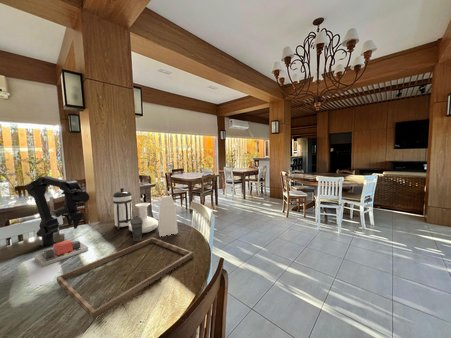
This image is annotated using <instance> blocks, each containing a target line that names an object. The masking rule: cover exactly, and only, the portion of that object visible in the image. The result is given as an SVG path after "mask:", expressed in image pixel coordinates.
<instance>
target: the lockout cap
mask: <svg viewBox="0 0 451 338" xmlns="http://www.w3.org/2000/svg"><path fill="white" fill-rule="evenodd" d="M72 242H73V241H71V240H68V239H66V240H64V241H60V242H57V243H54V244H52V250H54V253H55V254H57V255H60V254H63V253H66V252H69V251H72V250H73V245H72Z"/></svg>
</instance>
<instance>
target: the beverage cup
mask: <svg viewBox="0 0 451 338" xmlns="http://www.w3.org/2000/svg"><path fill="white" fill-rule="evenodd" d="M136 214H137V213H136V209H134V217H133V216H132V220H131V226H132V231H131V232H132V238H133V239H132V240H133V241H134V242H139V241H141V240H142V235H143V233H142V224H143V220H142V218H141V217H140V216H139V215H136Z"/></svg>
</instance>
